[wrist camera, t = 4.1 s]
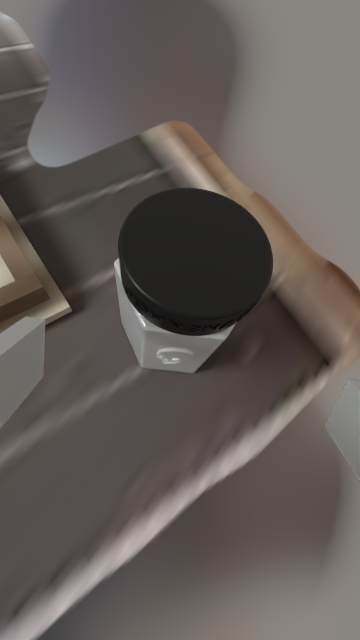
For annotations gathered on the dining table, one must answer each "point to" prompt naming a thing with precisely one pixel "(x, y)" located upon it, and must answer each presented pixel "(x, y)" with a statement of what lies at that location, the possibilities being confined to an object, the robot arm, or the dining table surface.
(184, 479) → the dining table surface
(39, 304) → the jar stand
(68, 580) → the dining table surface
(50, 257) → the dining table surface
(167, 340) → the jar
